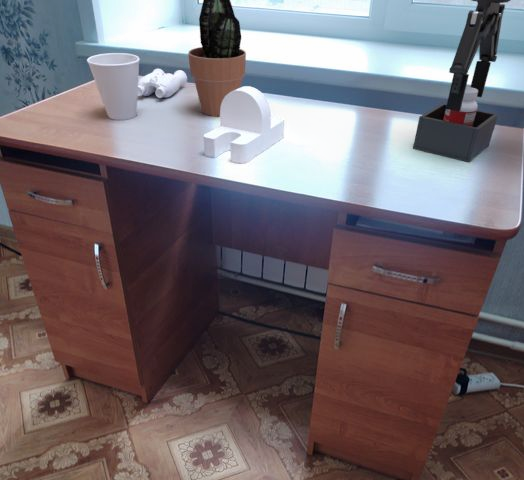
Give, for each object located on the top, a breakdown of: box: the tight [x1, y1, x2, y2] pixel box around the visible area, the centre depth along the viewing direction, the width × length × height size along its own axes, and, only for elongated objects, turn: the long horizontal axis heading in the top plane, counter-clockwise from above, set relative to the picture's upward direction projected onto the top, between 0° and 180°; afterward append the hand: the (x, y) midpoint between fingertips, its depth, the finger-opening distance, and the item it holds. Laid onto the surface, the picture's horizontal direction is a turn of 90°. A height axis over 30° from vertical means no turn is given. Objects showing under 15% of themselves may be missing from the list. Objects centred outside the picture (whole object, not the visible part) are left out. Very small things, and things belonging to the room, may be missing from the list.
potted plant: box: [187, 0, 247, 117], centre depth 120 cm, size 14×14×25 cm
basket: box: [412, 102, 499, 163], centre depth 109 cm, size 13×13×7 cm
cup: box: [86, 52, 141, 121], centre depth 120 cm, size 12×12×12 cm
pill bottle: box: [443, 86, 479, 127], centre depth 107 cm, size 6×6×11 cm
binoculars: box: [137, 68, 188, 99], centre depth 138 cm, size 10×16×5 cm, turn 168°
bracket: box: [203, 85, 285, 165], centre depth 106 cm, size 19×10×11 cm, turn 152°
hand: (464, 102), depth 105 cm, fingers open, 12 cm apart
